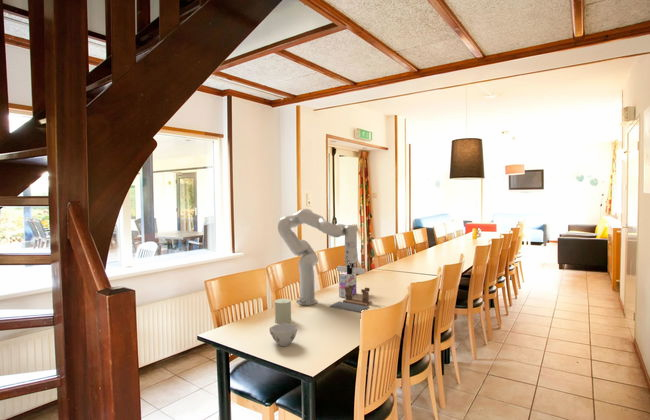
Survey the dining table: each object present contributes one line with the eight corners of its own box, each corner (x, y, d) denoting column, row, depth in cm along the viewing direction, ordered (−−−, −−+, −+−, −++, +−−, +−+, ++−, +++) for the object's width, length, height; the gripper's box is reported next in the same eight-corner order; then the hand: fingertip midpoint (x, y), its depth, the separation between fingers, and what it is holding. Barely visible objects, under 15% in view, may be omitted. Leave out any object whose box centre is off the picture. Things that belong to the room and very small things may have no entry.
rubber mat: (360, 312, 215) (360, 311, 215) (329, 306, 227) (329, 305, 227) (368, 307, 224) (368, 306, 224) (338, 302, 236) (338, 301, 236)
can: (276, 324, 197) (275, 303, 197) (273, 319, 206) (273, 298, 206) (292, 322, 200) (292, 301, 199) (289, 317, 209) (289, 297, 208)
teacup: (302, 341, 174) (302, 325, 174) (286, 351, 163) (286, 334, 163) (278, 335, 182) (277, 320, 181) (261, 344, 171) (261, 328, 171)
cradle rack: (366, 306, 227) (366, 290, 226) (342, 302, 236) (342, 287, 236) (371, 303, 234) (371, 287, 233) (348, 299, 243) (348, 284, 242)
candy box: (346, 298, 245) (345, 274, 244) (338, 297, 249) (338, 273, 248) (356, 293, 256) (356, 270, 255) (349, 292, 260) (349, 269, 259)
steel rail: (362, 274, 221) (362, 269, 221) (337, 271, 230) (337, 266, 230) (364, 273, 224) (364, 268, 224) (339, 270, 233) (339, 265, 233)
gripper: (350, 246, 217) (350, 277, 218) (361, 243, 231) (361, 271, 232) (339, 246, 221) (339, 275, 222) (351, 242, 235) (351, 270, 236)
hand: (350, 273), depth 227 cm, fingers closed on steel rail, 3 cm apart
